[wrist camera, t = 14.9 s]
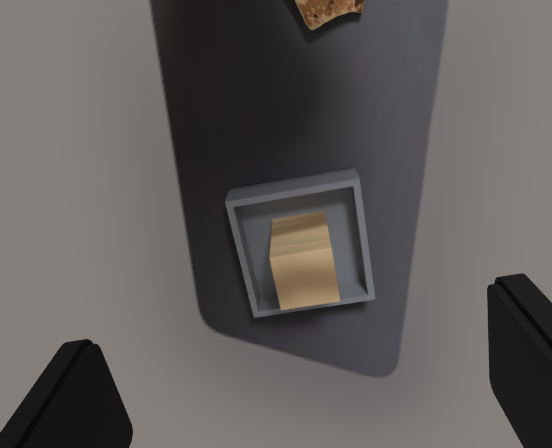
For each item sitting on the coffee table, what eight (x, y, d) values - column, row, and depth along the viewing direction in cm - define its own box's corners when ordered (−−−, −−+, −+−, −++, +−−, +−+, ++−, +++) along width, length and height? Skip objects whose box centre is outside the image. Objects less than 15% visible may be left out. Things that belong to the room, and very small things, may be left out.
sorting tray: (229, 189, 45) (224, 201, 42) (354, 166, 44) (359, 178, 41) (256, 298, 50) (253, 317, 46) (369, 281, 48) (375, 299, 45)
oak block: (272, 219, 45) (269, 257, 38) (324, 210, 45) (331, 247, 38) (282, 265, 47) (280, 310, 40) (332, 257, 47) (340, 301, 39)
